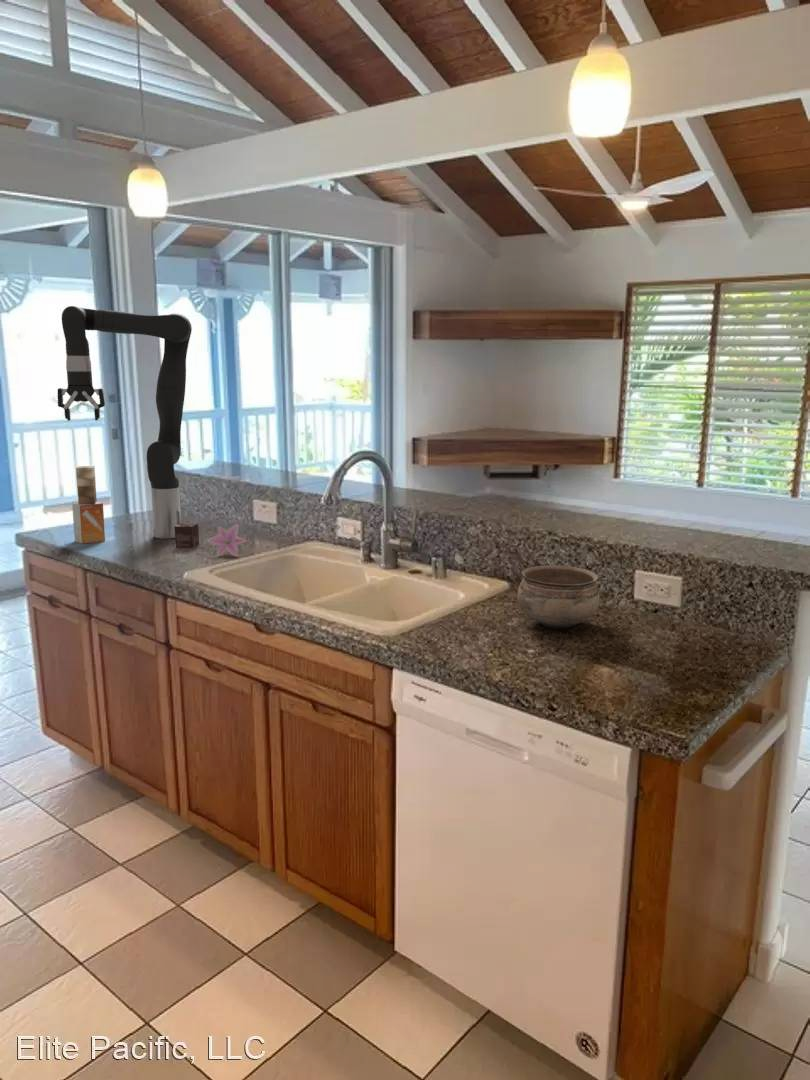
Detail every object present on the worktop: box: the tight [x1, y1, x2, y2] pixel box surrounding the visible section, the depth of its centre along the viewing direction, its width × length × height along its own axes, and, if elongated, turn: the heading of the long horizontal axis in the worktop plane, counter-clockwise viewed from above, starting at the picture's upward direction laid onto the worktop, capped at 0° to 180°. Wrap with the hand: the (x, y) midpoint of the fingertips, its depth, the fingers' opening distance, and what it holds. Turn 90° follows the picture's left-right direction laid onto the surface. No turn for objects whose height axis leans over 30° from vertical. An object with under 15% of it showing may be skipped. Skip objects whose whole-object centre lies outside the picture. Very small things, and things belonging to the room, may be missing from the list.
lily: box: [206, 523, 247, 557], centre depth 255 cm, size 11×11×9 cm
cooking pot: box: [517, 564, 601, 630], centre depth 188 cm, size 25×19×12 cm
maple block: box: [75, 465, 96, 486], centre depth 266 cm, size 5×5×6 cm
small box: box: [71, 501, 106, 545], centre depth 269 cm, size 8×6×13 cm
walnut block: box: [76, 484, 98, 504], centre depth 267 cm, size 5×5×6 cm
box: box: [174, 522, 200, 549], centre depth 264 cm, size 6×6×7 cm
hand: (82, 420), depth 265 cm, fingers open, 8 cm apart
